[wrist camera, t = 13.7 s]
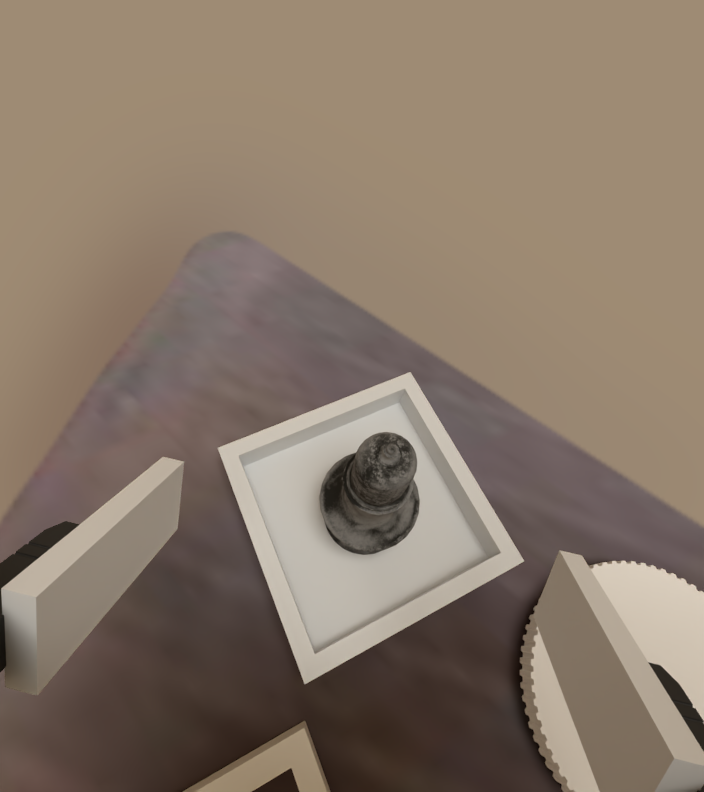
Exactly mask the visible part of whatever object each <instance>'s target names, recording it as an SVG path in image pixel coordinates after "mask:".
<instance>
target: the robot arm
mask: <svg viewBox="0 0 704 792" xmlns="http://www.w3.org/2000/svg"><path fill="white" fill-rule="evenodd" d="M183 468H184V462H183V461H179V460H174V459H170V458H166V457H162V458H161V459H160V460H159V461H157V462H156V463H155V464H154V465H152V466H151V467H150V468H149V469H147V470H146V471H145V472H144V473H143V474H141V475H140V476H139V477H138V478H136V479H135V480H134V481H133V482H131V483H130V484H129V485H128V486H127V487H125V488H124V489H123V490H122V491H120V492H119V493H118V494H117V495H116V496H114V497H113V498H112V499H111V500H109V501H108V502H107V503H106V504H104V505H103V506H102V507H101V508H100V509H98V510H97V511H96V512H95V513H93V514H92V515H91V516H90V517H88V518H87V519H86V520H85V521H84V522H82V523H81V524H80V525H79V524H75V523H71V522H67V521H65V522H63V523H60V524H58V525H56V526H53V527H51V528H48V529H46V530H44V531H43V532H42V533H40V534H39V535H38V536H36V537H35V538H34V539H32V540H31V541H30V542H29V544H28V545H27V544H26V545H24V546H23V547H22V548H20V549H19V550H18V551H16V553H15V555H14V554H12V555H11V556H10V557H8V558H7V559H6V560H4V561H3V562H2V563H0V672H1V671H2V670H3V669H4V668H5V687H7V688H10V689H14V690H18V691H22V692H26V693H30V694H33V695H38V694H39V693H40V692H41V691H42V690H43V688H44V687H45V686H46V685H47V684H48V682H49V681H50V680H51V679H52V678H53V676H54V675H55V674H56V673H57V672H58V671H59V669H60V668H61V667H62V666H63V665H64V663H65V662H66V661H67V660H68V659H69V657H70V656H71V655H72V654H73V653H74V651H75V650H76V649H77V648H78V647H79V646H80V644H81V643H82V642H83V641H84V640H85V638H86V637H87V636H88V635H89V634H90V632H91V631H92V630H93V629H94V628H95V627H96V625H97V624H98V623H99V622H100V621H101V619H102V618H103V617H104V616H105V615H106V613H107V612H108V611H109V610H110V609H111V607H112V606H113V605H114V604H115V603H116V602H117V600H118V599H119V598H120V597H121V596H122V594H123V593H124V592H125V591H126V590H127V588H128V587H129V586H130V585H131V584H132V582H133V581H134V580H135V579H136V578H137V577H138V575H139V574H140V573H141V572H142V571H143V569H144V568H145V567H146V566H147V565H148V563H149V562H150V561H151V560H152V559H153V558H154V556H155V555H156V554H157V553H158V552H159V550H160V549H161V548H162V547H163V546H164V544H165V543H166V542H167V541H168V540H169V538H170V537H171V536H172V535H173V534H174V533H175V531H176V530H177V529H178V519H179V509H180V499H181V489H182V478H183ZM533 616H534V619H535V621H536V624H537V627H538V629H539V632H540V635H541V637H542V640H543V643H544V645H545V648H546V651H547V653H548V656H549V658H550V661H551V664H552V666H553V669H554V672H555V674H556V677H557V680H558V682H559V685H560V688H561V690H562V693H563V696H564V698H565V701H566V704H567V706H568V709H569V712H570V714H571V717H572V720H573V722H574V725H575V728H576V730H577V733H578V736H579V738H580V741H581V744H582V746H583V749H584V751H585V754H586V757H587V759H588V762H589V765H590V767H591V770H592V773H593V775H594V778H595V781H596V783H597V786H598V789H599V791H600V792H704V721H703V719H702V718H701V716H700V715H699V713H698V712H697V710H696V708H693V704H692V702H691V701H690V699H689V698H688V696H687V695H686V693H685V692H684V690H683V689H682V687H681V686H680V684H679V683H678V682H677V681H676V680H675V679H674V678H673V677H672V676H671V675H670V674H669V673H668V672H667V671H666V670H665V669H664V668H663V667H662V666H661V665H658V664H653V663H649V662H648V661H647V660H646V658H645V656H644V655H643V653H642V651H641V650H640V648H639V647H638V645H637V643H636V642H635V640H634V639H633V637H632V635H631V634H630V632H629V631H628V629H627V627H626V626H625V624H624V622H623V621H622V619H621V618H620V616H619V614H618V613H617V611H616V610H615V608H614V606H613V605H612V603H611V601H610V600H609V598H608V597H607V595H606V593H605V592H604V590H603V589H602V587H601V585H600V584H599V582H598V581H597V579H596V577H595V576H594V574H593V572H592V571H591V569H590V568H589V566H588V564H587V563H586V561H585V560H584V558H583V556H581V555H577V554H573V553H569V552H564V551H560V550H559V552H558V555H557V557H556V560H555V562H554V565H553V567H552V570H551V572H550V575H549V577H548V580H547V582H546V585H545V587H544V590H543V592H542V594H541V597H540V599H539V602H538V604H537V607H536V609H535V612H534V614H533Z"/></svg>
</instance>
